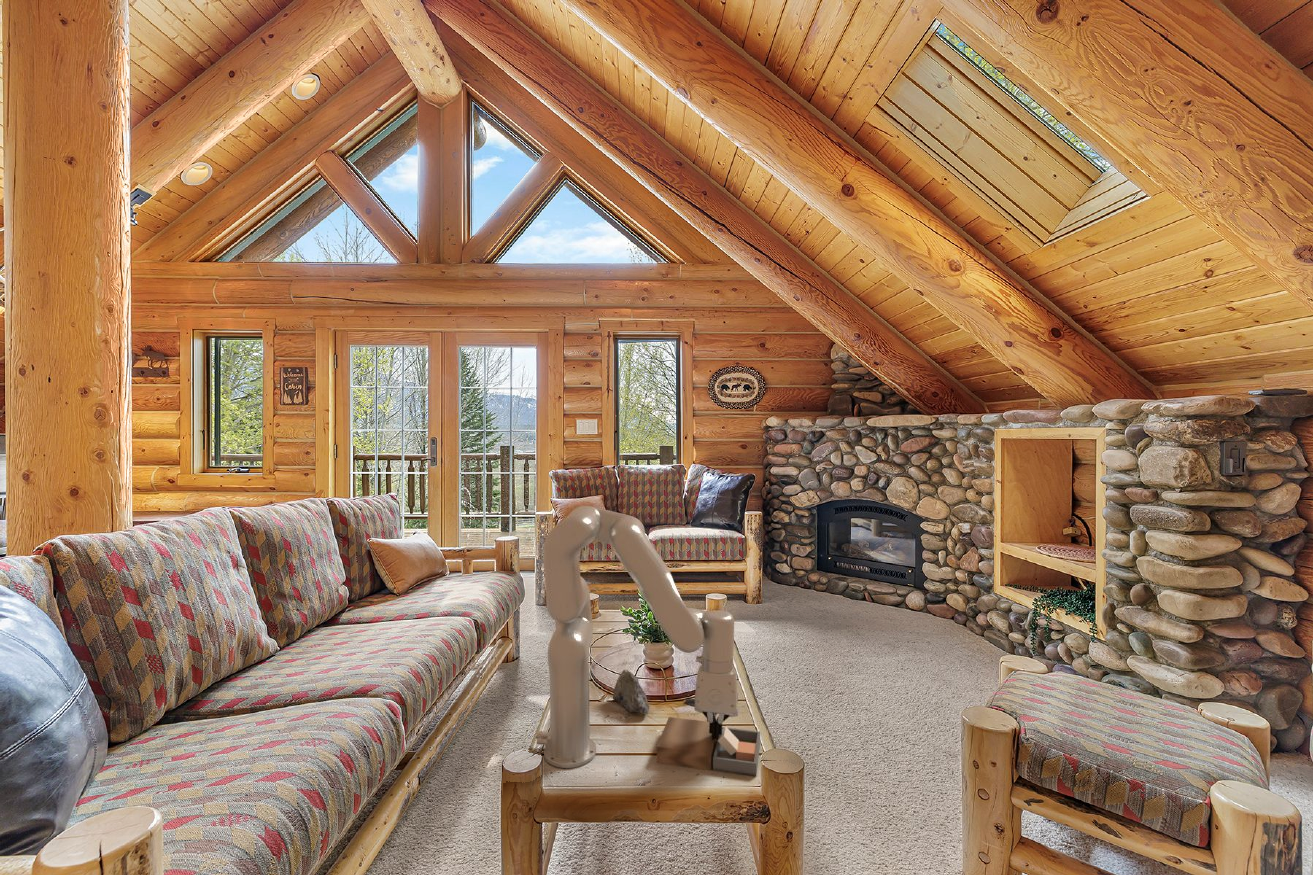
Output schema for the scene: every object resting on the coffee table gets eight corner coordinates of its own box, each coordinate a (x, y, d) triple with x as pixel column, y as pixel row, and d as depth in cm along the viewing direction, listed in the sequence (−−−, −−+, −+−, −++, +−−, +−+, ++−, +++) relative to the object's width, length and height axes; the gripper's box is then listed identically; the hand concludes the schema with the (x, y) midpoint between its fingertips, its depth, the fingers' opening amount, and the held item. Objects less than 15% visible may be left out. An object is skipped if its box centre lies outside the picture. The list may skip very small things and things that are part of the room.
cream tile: (717, 741, 146) (723, 736, 146) (720, 731, 151) (725, 726, 150) (731, 755, 146) (737, 750, 145) (733, 745, 150) (738, 740, 150)
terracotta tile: (755, 753, 144) (755, 761, 144) (756, 743, 149) (756, 751, 149) (736, 751, 145) (736, 759, 145) (737, 741, 150) (737, 749, 150)
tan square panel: (656, 762, 145) (656, 746, 145) (668, 731, 159) (668, 716, 158) (710, 770, 142) (710, 753, 142) (718, 737, 156) (718, 722, 155)
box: (713, 770, 142) (713, 757, 142) (720, 738, 156) (720, 726, 155) (756, 776, 140) (756, 763, 140) (760, 743, 153) (760, 731, 153)
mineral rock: (648, 720, 164) (648, 684, 164) (609, 720, 165) (609, 684, 164) (650, 697, 177) (650, 663, 177) (613, 697, 178) (613, 663, 177)
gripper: (684, 666, 145) (682, 740, 147) (747, 673, 142) (745, 749, 143) (689, 653, 153) (688, 724, 154) (749, 660, 149) (747, 732, 150)
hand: (715, 736), depth 149 cm, fingers closed
